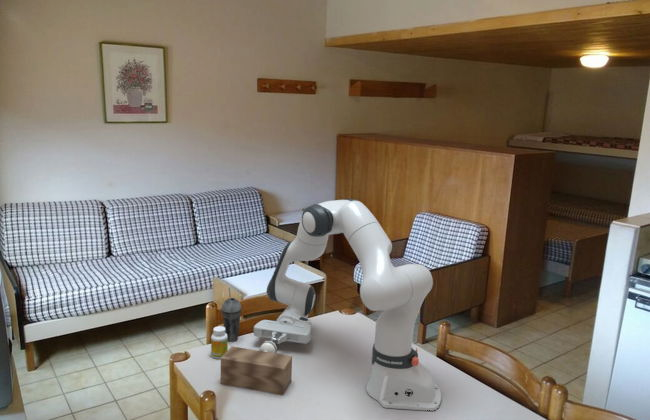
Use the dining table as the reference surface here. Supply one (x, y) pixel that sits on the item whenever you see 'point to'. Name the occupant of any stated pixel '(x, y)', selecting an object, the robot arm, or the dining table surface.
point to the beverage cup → (231, 317)
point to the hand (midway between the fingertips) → (275, 341)
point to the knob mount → (256, 370)
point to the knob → (268, 347)
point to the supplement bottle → (219, 342)
